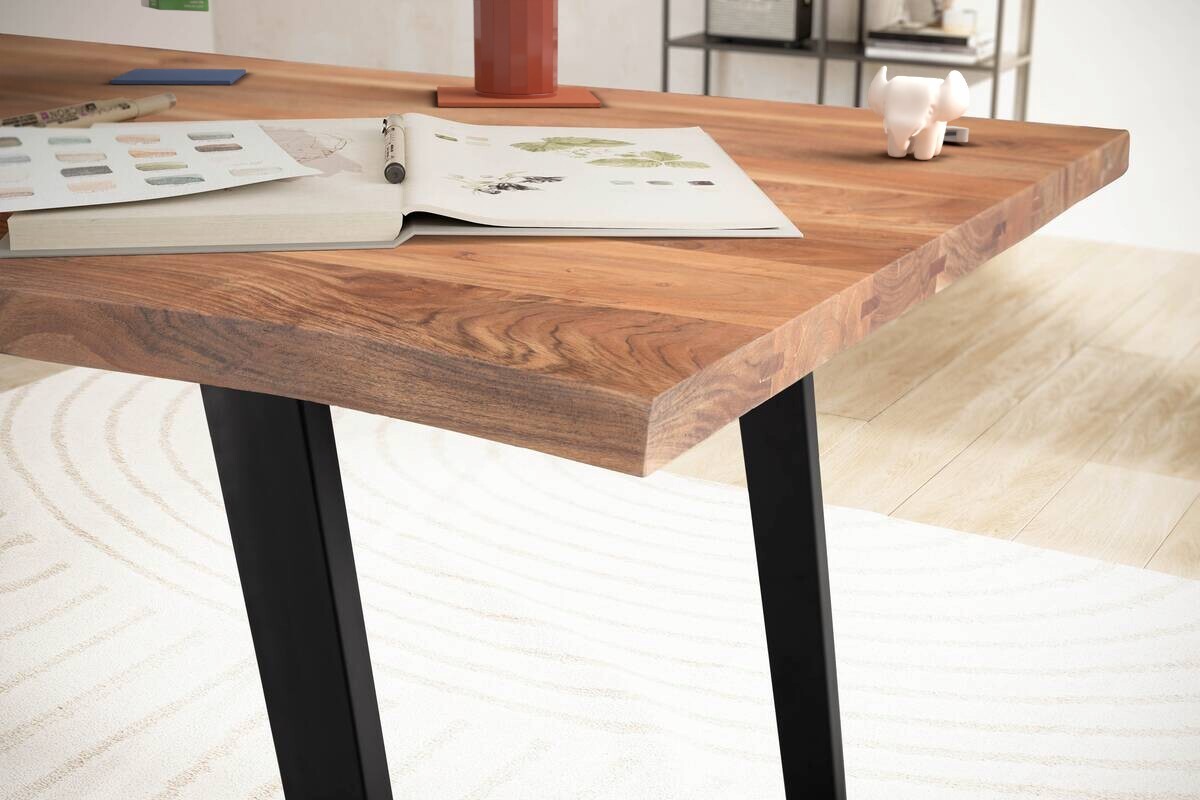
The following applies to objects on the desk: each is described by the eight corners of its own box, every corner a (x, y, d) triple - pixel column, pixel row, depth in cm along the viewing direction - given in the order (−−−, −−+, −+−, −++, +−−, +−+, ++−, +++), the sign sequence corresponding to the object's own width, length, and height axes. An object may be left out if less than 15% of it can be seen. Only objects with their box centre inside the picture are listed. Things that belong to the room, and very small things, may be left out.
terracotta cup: (476, 103, 111) (474, -5, 108) (473, 93, 118) (471, -8, 115) (560, 104, 112) (561, -4, 109) (553, 94, 119) (553, -7, 116)
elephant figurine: (846, 160, 85) (853, 69, 83) (879, 145, 92) (887, 60, 90) (947, 170, 83) (958, 75, 81) (974, 153, 89) (984, 66, 87)
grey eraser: (899, 139, 98) (900, 123, 97) (925, 137, 99) (926, 122, 98) (950, 144, 92) (951, 128, 92) (977, 142, 93) (978, 126, 93)
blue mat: (110, 84, 120) (110, 79, 120) (135, 72, 130) (135, 68, 130) (230, 84, 122) (230, 80, 121) (246, 73, 132) (245, 69, 132)
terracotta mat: (438, 106, 109) (437, 102, 108) (437, 91, 120) (437, 86, 120) (601, 107, 110) (601, 102, 110) (585, 91, 122) (585, 87, 121)
